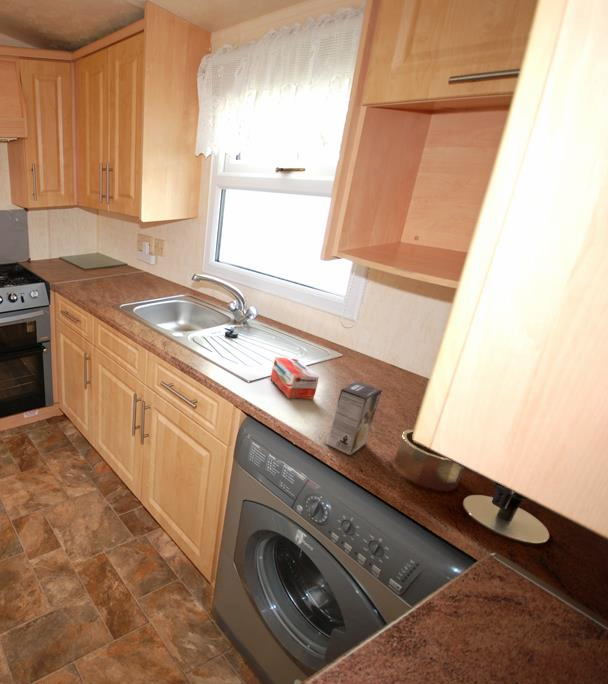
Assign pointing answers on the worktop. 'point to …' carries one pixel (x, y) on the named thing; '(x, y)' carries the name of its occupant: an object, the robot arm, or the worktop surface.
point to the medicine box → (294, 378)
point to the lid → (506, 519)
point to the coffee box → (353, 417)
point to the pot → (425, 465)
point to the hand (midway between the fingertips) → (509, 501)
